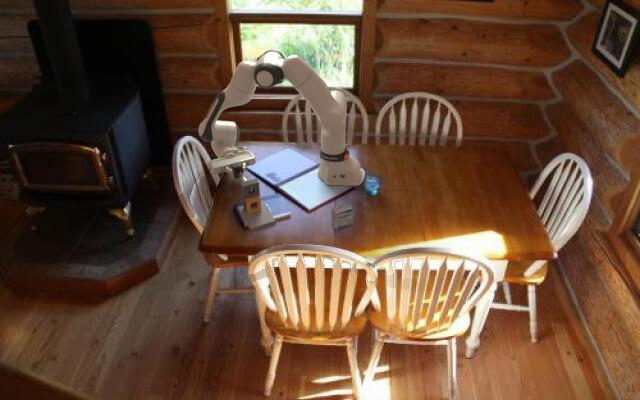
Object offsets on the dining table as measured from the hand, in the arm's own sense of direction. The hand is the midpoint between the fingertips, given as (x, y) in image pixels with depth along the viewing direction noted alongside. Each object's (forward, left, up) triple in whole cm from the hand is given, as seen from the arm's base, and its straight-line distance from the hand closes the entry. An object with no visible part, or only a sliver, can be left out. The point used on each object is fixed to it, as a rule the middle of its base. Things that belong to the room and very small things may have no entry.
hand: (238, 171), depth 230 cm
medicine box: (-49, +12, -11) cm, 52 cm away
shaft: (-4, +5, -3) cm, 7 cm away
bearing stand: (-13, +15, -11) cm, 23 cm away
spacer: (-11, +14, -9) cm, 20 cm away
